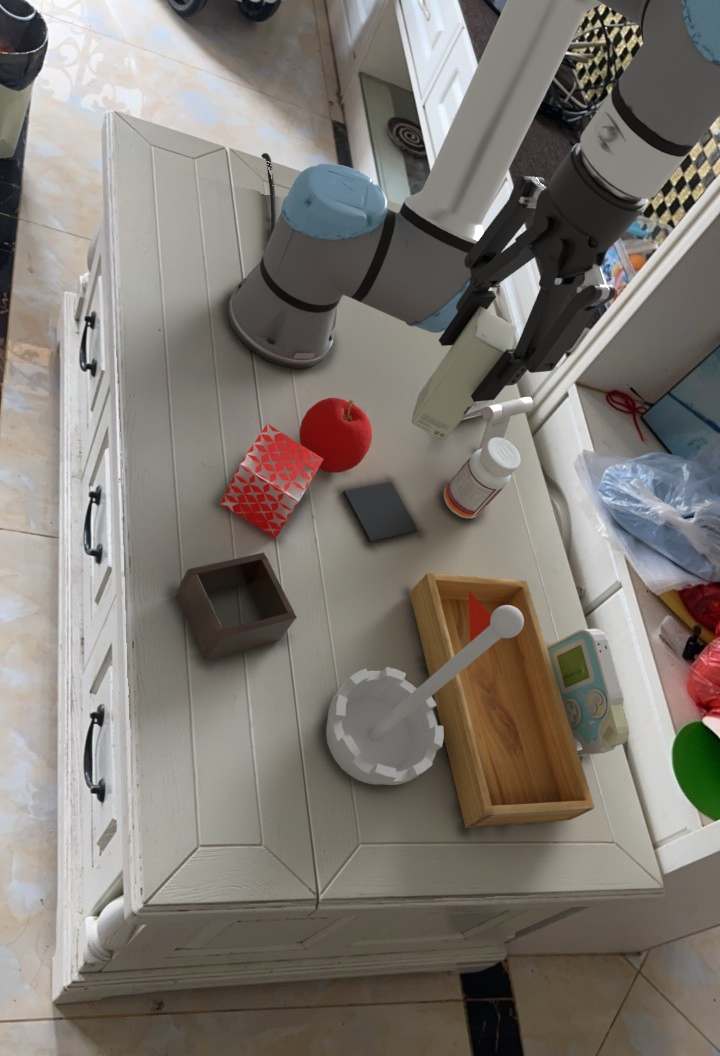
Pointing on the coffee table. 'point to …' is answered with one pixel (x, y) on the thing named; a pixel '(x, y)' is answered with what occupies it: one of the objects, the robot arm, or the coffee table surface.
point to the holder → (228, 575)
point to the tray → (500, 708)
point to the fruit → (336, 434)
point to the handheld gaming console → (590, 691)
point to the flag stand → (403, 708)
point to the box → (462, 373)
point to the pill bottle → (481, 478)
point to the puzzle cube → (271, 480)
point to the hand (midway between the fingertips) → (466, 369)
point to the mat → (380, 511)
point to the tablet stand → (498, 415)
